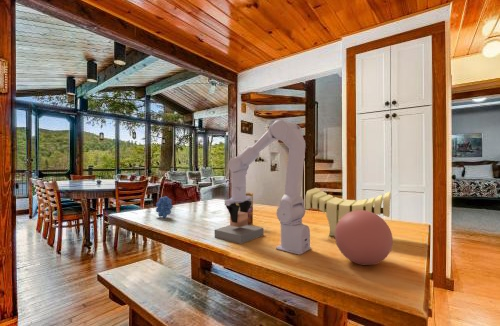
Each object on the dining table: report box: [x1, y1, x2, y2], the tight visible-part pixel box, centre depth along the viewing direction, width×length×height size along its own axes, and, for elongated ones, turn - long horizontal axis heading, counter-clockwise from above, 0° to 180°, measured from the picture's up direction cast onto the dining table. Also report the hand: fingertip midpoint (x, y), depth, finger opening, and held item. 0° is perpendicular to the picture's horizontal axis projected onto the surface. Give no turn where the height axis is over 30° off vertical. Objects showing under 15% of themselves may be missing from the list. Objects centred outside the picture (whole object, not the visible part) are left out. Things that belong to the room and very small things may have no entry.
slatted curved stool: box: [304, 187, 392, 238], centre depth 102 cm, size 30×16×18 cm, turn 59°
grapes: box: [155, 195, 174, 219], centre depth 139 cm, size 12×7×12 cm, turn 64°
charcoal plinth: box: [214, 224, 264, 245], centre depth 102 cm, size 14×14×3 cm
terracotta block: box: [229, 211, 248, 227], centre depth 102 cm, size 5×5×5 cm
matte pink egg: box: [334, 210, 394, 266], centre depth 76 cm, size 15×20×15 cm
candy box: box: [236, 192, 254, 226], centre depth 119 cm, size 9×4×15 cm, turn 123°
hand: (239, 220), depth 102 cm, fingers closed on terracotta block, 5 cm apart
